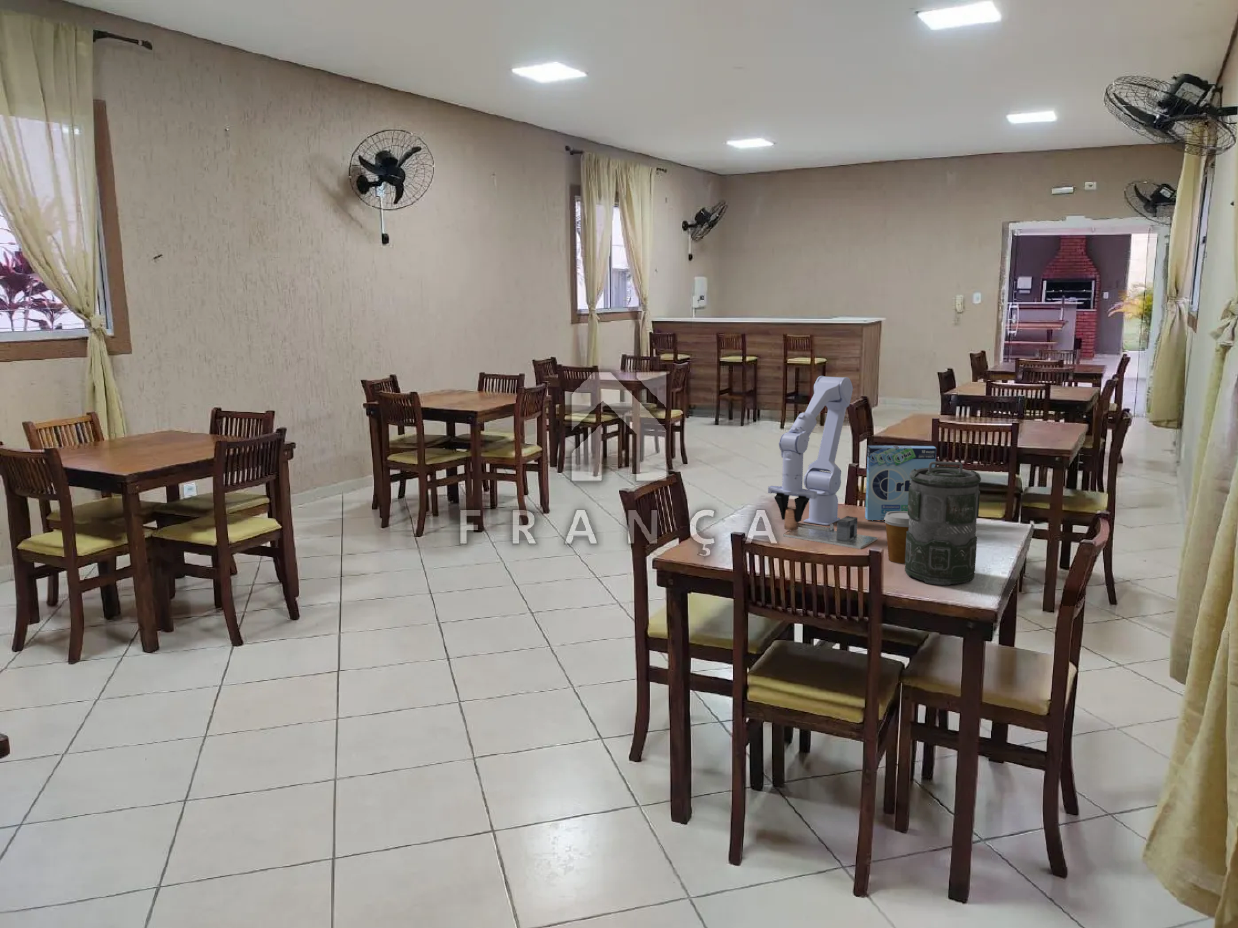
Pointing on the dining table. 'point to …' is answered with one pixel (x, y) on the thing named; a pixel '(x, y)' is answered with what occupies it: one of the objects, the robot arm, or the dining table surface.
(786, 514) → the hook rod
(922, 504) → the canister
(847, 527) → the grey plate
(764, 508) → the dining table surface
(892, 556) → the disposable coffee cup
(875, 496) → the gum box
